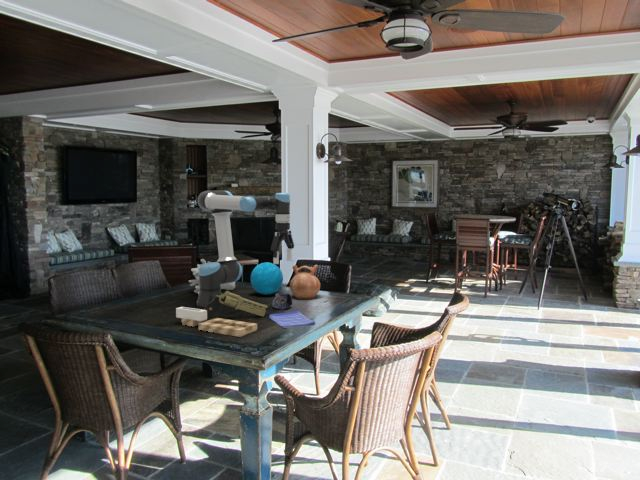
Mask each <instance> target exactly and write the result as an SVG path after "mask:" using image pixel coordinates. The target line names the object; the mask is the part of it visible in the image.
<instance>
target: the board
mask: <svg viewBox="0 0 640 480" xmlns="http://www.w3.org/2000/svg"><path fill="white" fill-rule="evenodd" d="M197 326H198V331H200V330H202V331H201V332H206V331H208V332H207V333H213V332H214V334H220V335H225V336H232V337H238V338H241V337H244V336H246V335H248V334H251V333H253V332H256V331H258V323H255V322H249V321H248V322H247V321H240V320H233V319H227V318H220V317H215V318H211V320H205V321H202V323H199V324H198V325H197Z"/></svg>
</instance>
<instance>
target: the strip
mask: <svg viewBox="0 0 640 480" xmlns="http://www.w3.org/2000/svg"><path fill="white" fill-rule="evenodd" d="M175 317H176V318H177V319H181V322H180V323H182V319H190V320H197V325H196V326H198V324H199V323H203V322H205V321H208V319H207V310H204V309H200V308H195V307H194V308H193V307H185V306H180V307H175Z"/></svg>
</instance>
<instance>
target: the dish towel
mask: <svg viewBox="0 0 640 480" xmlns="http://www.w3.org/2000/svg"><path fill="white" fill-rule="evenodd" d="M268 318H269V319H270V320H271V321H273V322H274V323H275V324H277V325H278V326H279V327H280V328H283V329H291V328H301V327H308V326H309V327H310V326H315V325H316V321H314V320H311V319H310V318H309V317H307V316H306V315H304V314H303V313H301V311H299V310H295V311H291V312H281V313H280V312H279V313H272V314H271V313H270V314H269V315H268Z"/></svg>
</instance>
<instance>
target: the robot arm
mask: <svg viewBox="0 0 640 480" xmlns="http://www.w3.org/2000/svg"><path fill="white" fill-rule="evenodd" d="M290 198H291V196H290V193H289V192H276V193H275V196H268V195H263V196H248V195H247V196H245V195H244V196H243V195H233V194H232V192H230V191H228V190H223V189H222V190H221V189H220V190H219V189H218V190H217V189H216V190H205V191H202V192H200V193H199V195H198V197H197V205H198V206H199V208H201V210H203V211H206V212H211V216H213V217H214V222H215V231H216V242H217V250H218V259H217V261H215V262H213V261H212V262H211V261H210V262H211V263H207V262H206V263H205V264H203V263H202V264H203V265H201V266H200V268H199V284H200V292H199V295H198V296H197V300H196V306H197V307H200V308H205V307H206V305H207V304H208V303H209V302H211V301H212V300H213V299H214V298H215V296H216V295H218V294H220V295H221V294H222V292H220V291H222V289H221V284H226V283H233V282H235V283H236V282H238V281H239V280H240V278H241V277H242V276H243V266H242V264H241V263H240V262H238V258H236V256H235V255H234V254H235V253H234V246H233V237H232V236H233V235H232V228H231V219H230V218H231V217H230V215H231V214H232V213H233V211H243V212H249V213H250V212H262V211H263V212H265V211H274V212H275V222H276V223H275V230H277V231H275V232H273V239H272V241H271V246H270V251H271V252H273V253H272V254H273V255H272V256H273V259H272V261H273V264H275V265H279V262H280V260H279V259H280V258H279V255H280V252H279V251H278V250H279V248H280V246H281V244H282V242H283V241H284V244H285V245H286V247H287V248H286V261H288V262H289V261H292V260H293V253H292V251H293V249H295V243H294V239H293V235H292V230H291V229H290V228H291V223H290V220H291V211H290V210H291V204H290V203H291V199H290ZM232 210H233V211H232ZM199 284H198V285H199Z"/></svg>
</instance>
